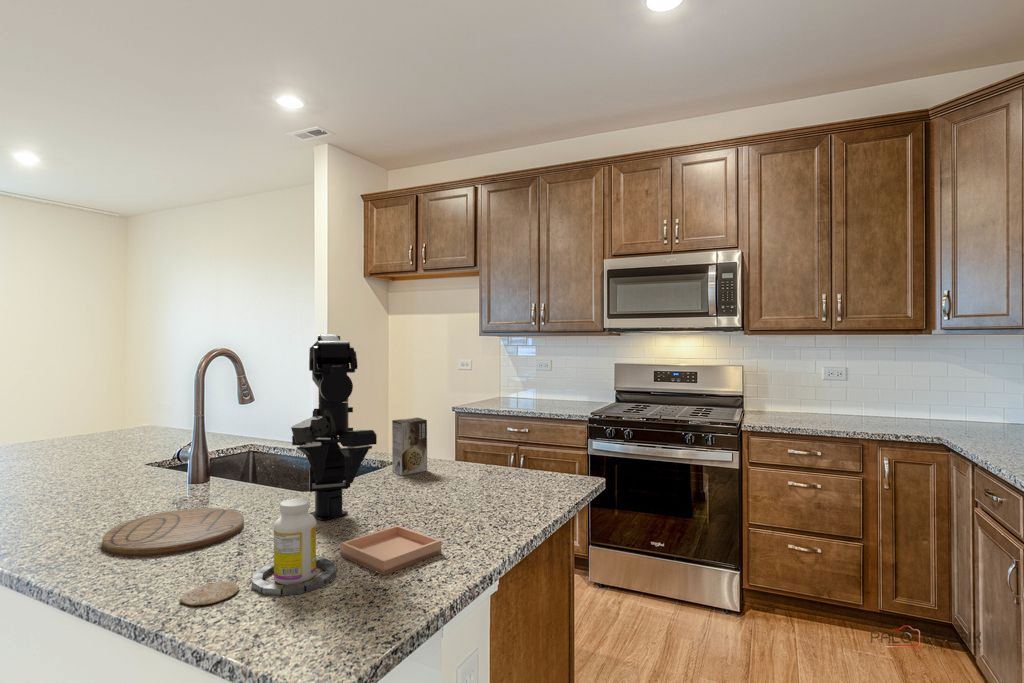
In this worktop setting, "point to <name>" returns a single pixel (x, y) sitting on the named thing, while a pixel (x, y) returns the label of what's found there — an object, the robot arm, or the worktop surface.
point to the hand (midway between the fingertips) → (333, 482)
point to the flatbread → (209, 593)
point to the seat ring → (291, 589)
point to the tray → (390, 549)
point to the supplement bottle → (294, 543)
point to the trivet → (172, 532)
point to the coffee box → (409, 446)
